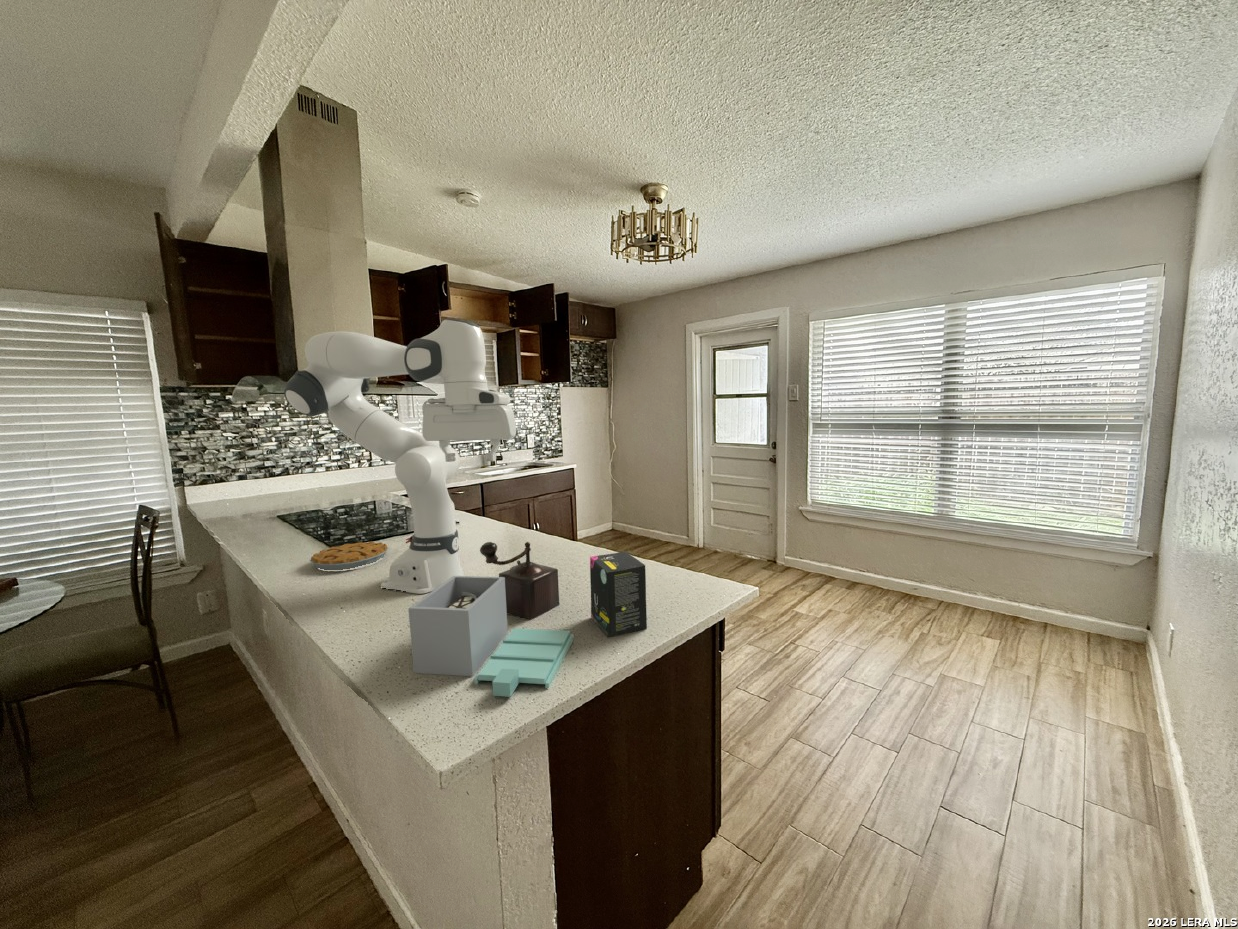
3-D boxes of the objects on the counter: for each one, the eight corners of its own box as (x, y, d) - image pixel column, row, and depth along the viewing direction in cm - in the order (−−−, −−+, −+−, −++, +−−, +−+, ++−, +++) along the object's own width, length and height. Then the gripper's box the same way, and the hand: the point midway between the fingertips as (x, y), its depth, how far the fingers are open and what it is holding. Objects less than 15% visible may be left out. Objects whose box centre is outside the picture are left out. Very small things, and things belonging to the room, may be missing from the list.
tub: (413, 672, 85) (408, 608, 84) (457, 630, 101) (453, 575, 100) (472, 676, 83) (468, 610, 82) (507, 632, 100) (504, 577, 98)
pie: (403, 554, 159) (401, 540, 159) (353, 576, 138) (351, 560, 137) (350, 551, 164) (348, 537, 164) (294, 572, 143) (292, 557, 142)
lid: (463, 699, 77) (462, 680, 77) (511, 636, 98) (510, 621, 98) (541, 704, 75) (540, 685, 75) (573, 639, 96) (572, 624, 96)
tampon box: (590, 617, 106) (588, 556, 104) (626, 610, 110) (625, 550, 108) (608, 638, 96) (606, 571, 94) (647, 629, 100) (646, 564, 98)
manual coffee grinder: (528, 595, 120) (525, 528, 118) (560, 605, 113) (557, 533, 111) (480, 618, 107) (475, 543, 105) (513, 630, 101) (508, 550, 99)
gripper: (413, 398, 97) (418, 463, 98) (505, 395, 94) (509, 462, 95) (429, 398, 103) (434, 460, 105) (517, 396, 100) (520, 459, 102)
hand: (471, 461), depth 100 cm, fingers open, 8 cm apart
